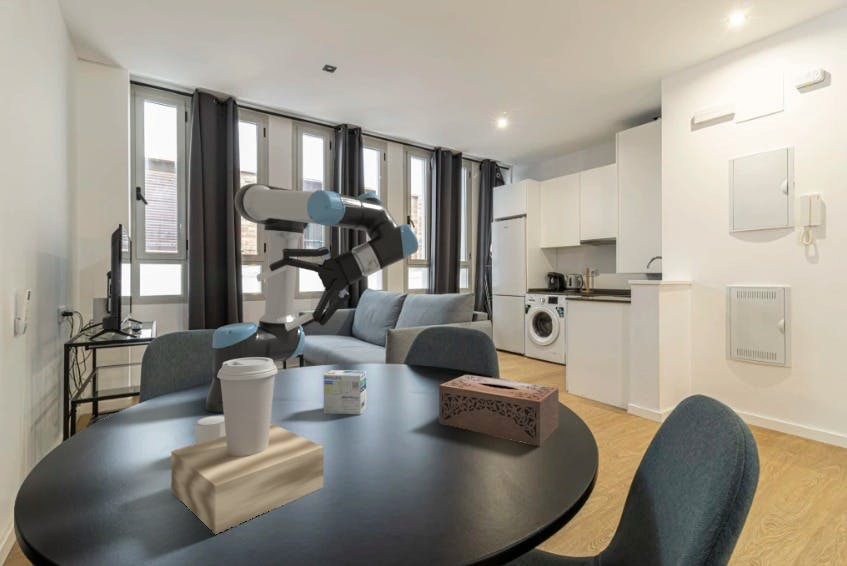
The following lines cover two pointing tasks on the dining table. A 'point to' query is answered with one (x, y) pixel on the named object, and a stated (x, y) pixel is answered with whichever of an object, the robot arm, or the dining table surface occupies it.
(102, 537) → the dining table surface
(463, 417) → the tissue box cover
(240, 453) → the coffee cup
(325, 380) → the light bulb box
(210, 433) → the shot glass
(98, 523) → the dining table surface
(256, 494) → the riser block
